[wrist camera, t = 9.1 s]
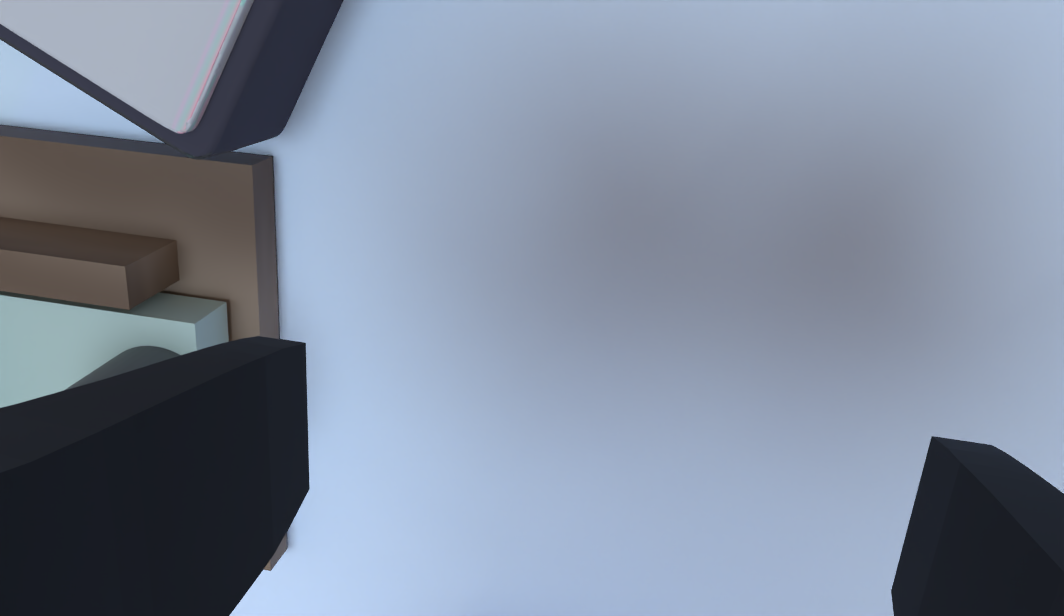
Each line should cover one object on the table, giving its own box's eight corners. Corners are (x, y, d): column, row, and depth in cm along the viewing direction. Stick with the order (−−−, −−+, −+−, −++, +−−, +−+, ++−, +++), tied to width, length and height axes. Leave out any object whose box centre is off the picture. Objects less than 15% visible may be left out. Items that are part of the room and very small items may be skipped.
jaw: (254, 467, 23) (112, 619, 18) (-10, 421, 24) (-216, 551, 19) (246, 305, 21) (87, 419, 16) (-37, 264, 23) (-271, 358, 17)
